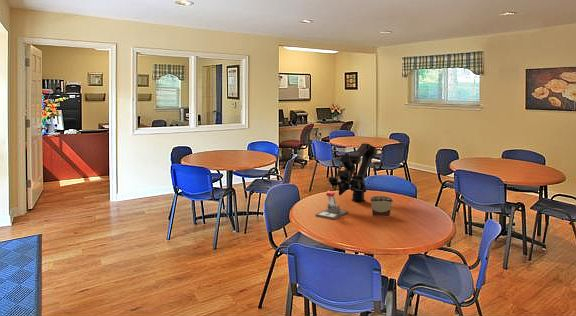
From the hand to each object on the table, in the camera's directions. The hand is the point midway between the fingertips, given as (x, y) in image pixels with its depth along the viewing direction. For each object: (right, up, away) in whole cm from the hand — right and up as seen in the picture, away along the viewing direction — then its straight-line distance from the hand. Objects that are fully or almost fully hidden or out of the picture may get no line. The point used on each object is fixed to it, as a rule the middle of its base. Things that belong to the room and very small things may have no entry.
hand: (339, 194), depth 243 cm
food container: (+22, -11, -7) cm, 25 cm away
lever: (-4, -7, -5) cm, 9 cm away
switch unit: (-5, -10, -6) cm, 13 cm away
